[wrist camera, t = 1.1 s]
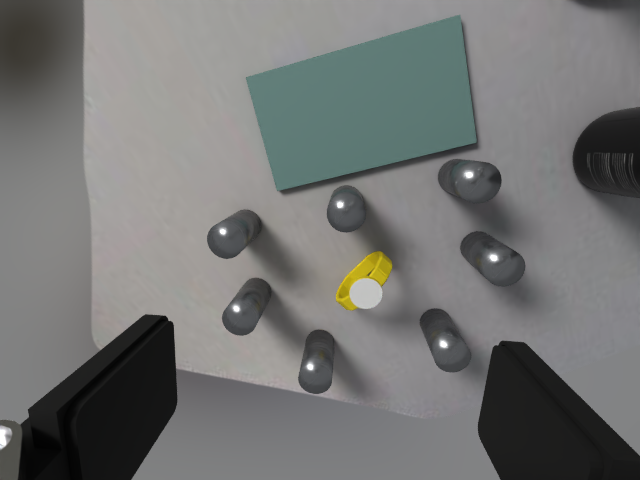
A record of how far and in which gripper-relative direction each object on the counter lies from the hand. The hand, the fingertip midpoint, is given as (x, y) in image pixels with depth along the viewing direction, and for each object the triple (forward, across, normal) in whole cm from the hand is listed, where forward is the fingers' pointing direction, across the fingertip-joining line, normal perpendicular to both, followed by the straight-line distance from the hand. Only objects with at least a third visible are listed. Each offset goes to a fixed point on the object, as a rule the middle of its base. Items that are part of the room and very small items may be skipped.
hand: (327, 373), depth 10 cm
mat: (+23, -2, -10) cm, 25 cm away
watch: (+24, -3, +4) cm, 25 cm away
